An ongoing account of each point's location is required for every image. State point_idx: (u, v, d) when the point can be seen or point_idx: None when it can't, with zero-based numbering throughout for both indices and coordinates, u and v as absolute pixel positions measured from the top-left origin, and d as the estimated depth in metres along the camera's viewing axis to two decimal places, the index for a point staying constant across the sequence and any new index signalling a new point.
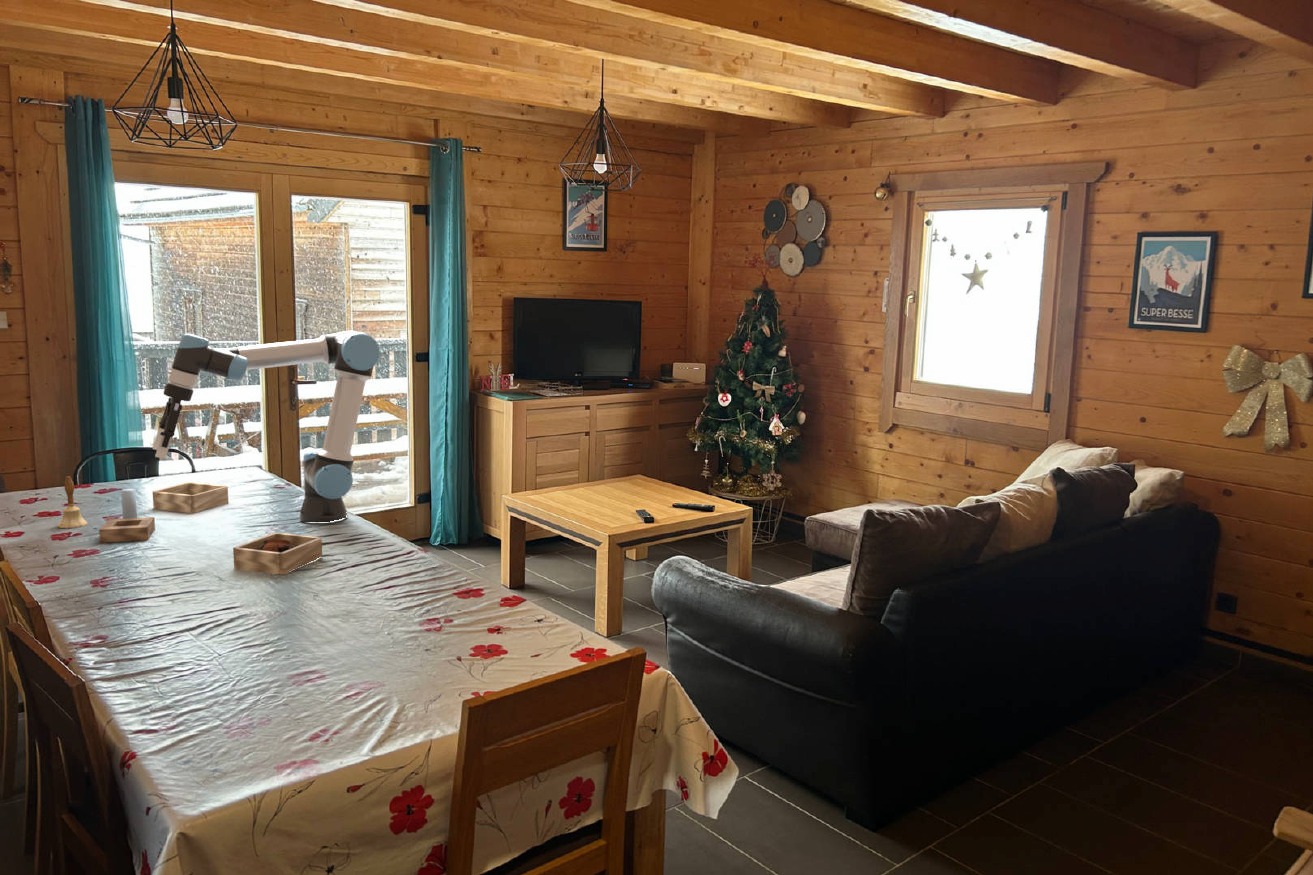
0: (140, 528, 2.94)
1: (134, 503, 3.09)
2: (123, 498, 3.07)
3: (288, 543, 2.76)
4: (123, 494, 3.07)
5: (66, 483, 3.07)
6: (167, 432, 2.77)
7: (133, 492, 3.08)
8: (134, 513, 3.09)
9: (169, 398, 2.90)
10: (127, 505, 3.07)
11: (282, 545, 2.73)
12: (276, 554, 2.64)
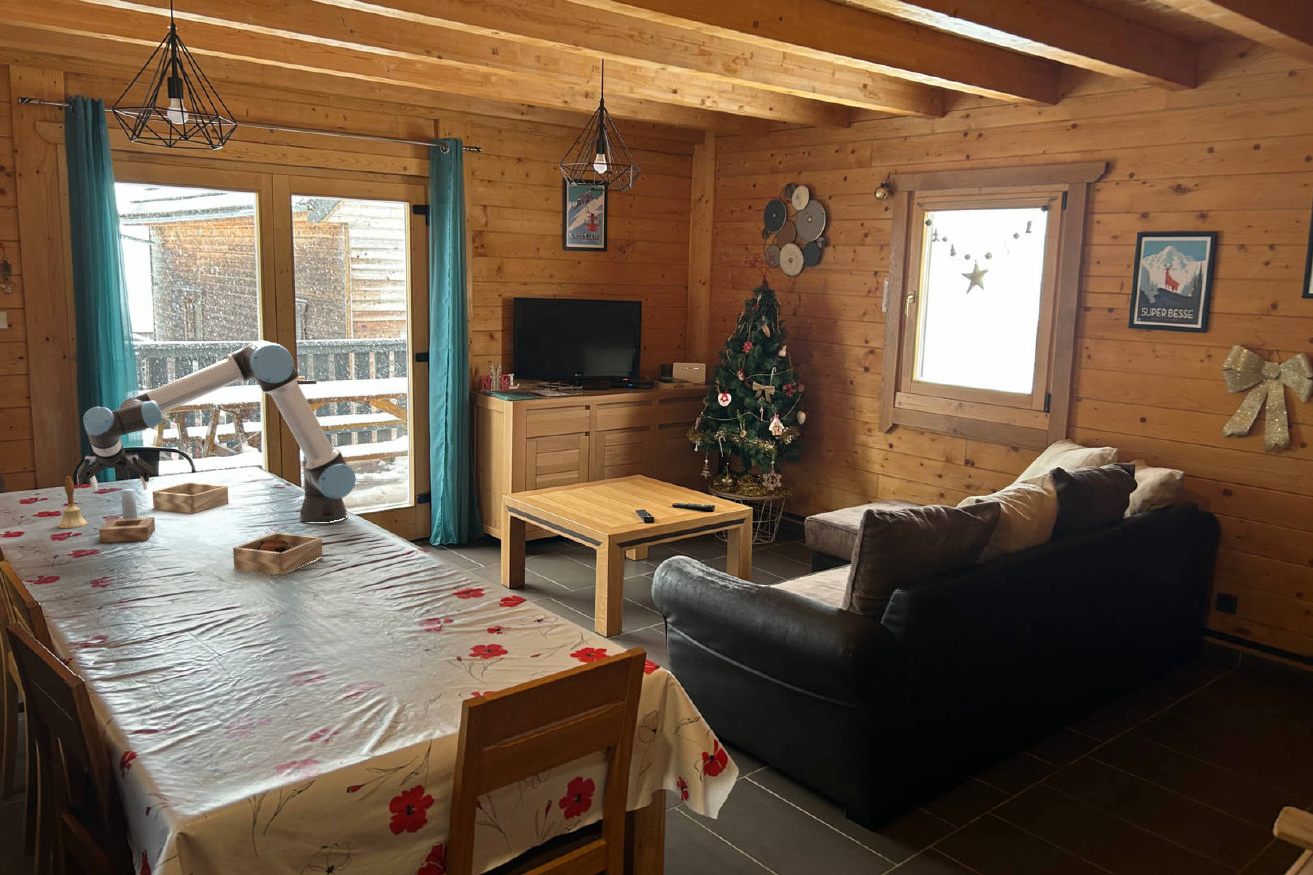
0: (140, 528, 2.94)
1: (134, 503, 3.09)
2: (123, 498, 3.07)
3: (285, 544, 2.75)
4: (123, 494, 3.07)
5: (66, 483, 3.07)
6: (153, 472, 2.95)
7: (133, 492, 3.08)
8: (134, 513, 3.09)
9: (88, 461, 2.83)
10: (127, 505, 3.07)
11: (279, 546, 2.73)
12: (276, 554, 2.64)
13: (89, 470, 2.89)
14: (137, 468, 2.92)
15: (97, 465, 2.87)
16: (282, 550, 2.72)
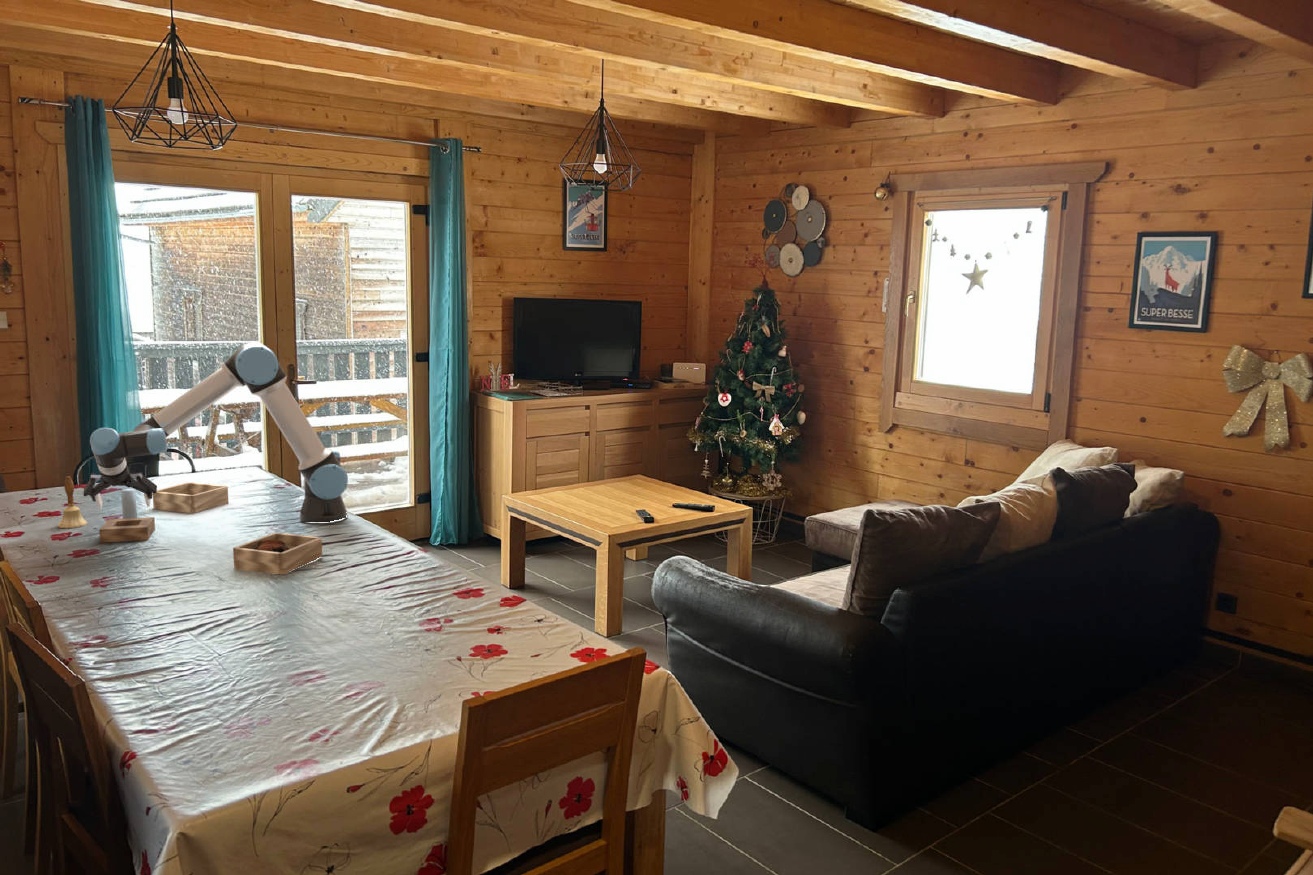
0: (140, 528, 2.94)
1: (134, 503, 3.09)
2: (123, 498, 3.07)
3: (283, 544, 2.75)
4: (123, 494, 3.07)
5: (66, 483, 3.07)
6: (156, 489, 3.04)
7: (133, 492, 3.08)
8: (134, 513, 3.09)
9: (94, 479, 2.92)
10: (127, 505, 3.07)
11: (277, 546, 2.72)
12: (276, 554, 2.64)
13: (94, 488, 2.98)
14: (141, 486, 3.01)
15: (102, 483, 2.96)
16: (280, 550, 2.72)
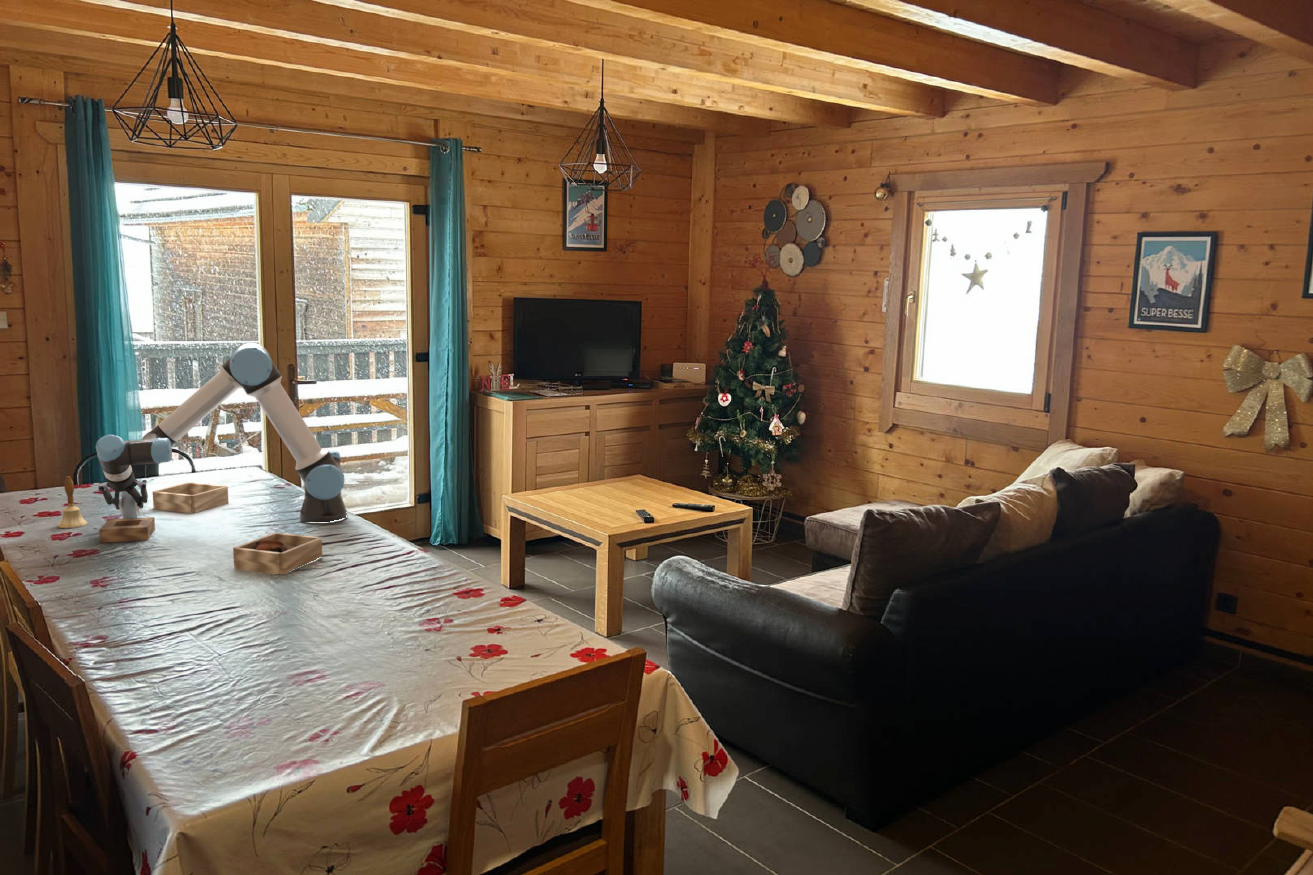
0: (140, 528, 2.94)
1: (134, 503, 3.09)
2: (123, 498, 3.07)
3: (281, 544, 2.75)
4: (123, 494, 3.07)
5: (66, 483, 3.07)
6: (146, 499, 3.08)
7: None
8: (134, 513, 3.09)
9: (101, 488, 2.98)
10: (127, 505, 3.07)
11: (275, 546, 2.72)
12: (276, 554, 2.64)
13: None
14: (137, 495, 3.06)
15: None
16: (278, 551, 2.71)
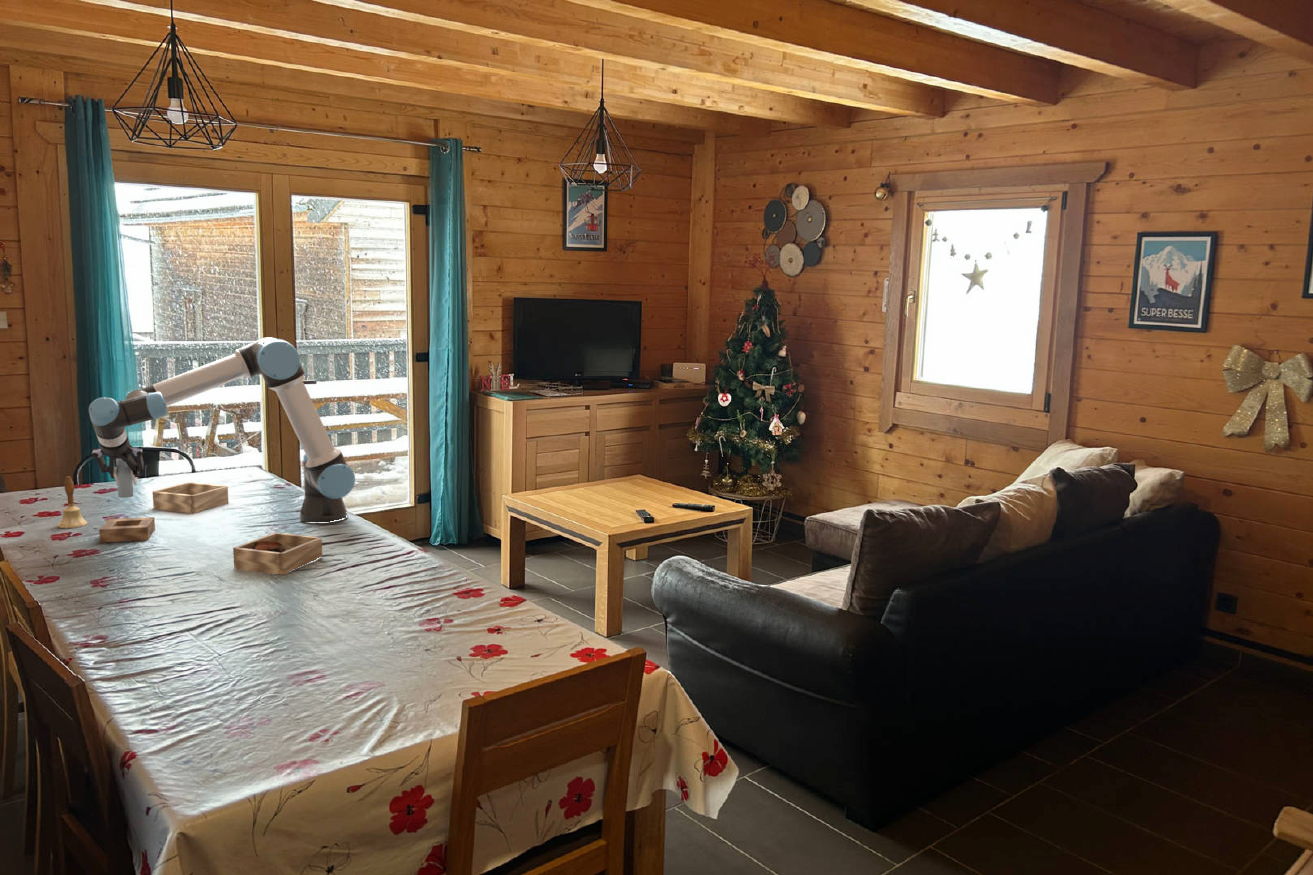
0: (140, 528, 2.94)
1: (130, 472, 2.96)
2: (118, 466, 2.94)
3: (279, 545, 2.74)
4: (118, 462, 2.94)
5: (66, 483, 3.07)
6: (143, 467, 2.96)
7: None
8: (130, 482, 2.96)
9: (95, 454, 2.85)
10: (122, 473, 2.95)
11: (273, 547, 2.71)
12: (276, 554, 2.64)
13: None
14: (133, 463, 2.93)
15: None
16: None
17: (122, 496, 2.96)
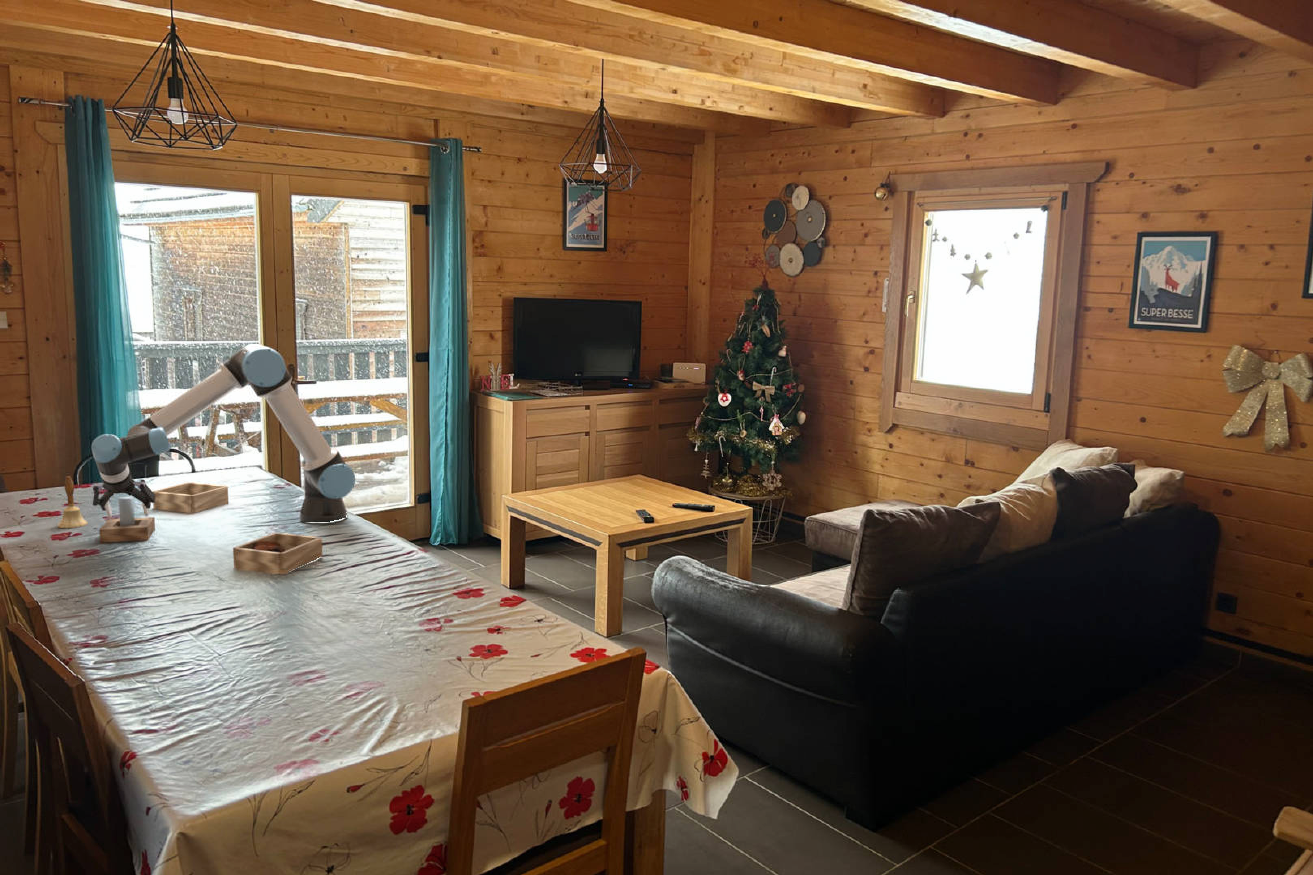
0: (140, 528, 2.94)
1: (132, 511, 2.98)
2: (121, 506, 2.96)
3: (278, 545, 2.74)
4: (121, 502, 2.96)
5: (66, 483, 3.07)
6: (154, 499, 2.97)
7: (131, 500, 2.97)
8: (132, 522, 2.98)
9: (96, 488, 2.86)
10: (124, 513, 2.96)
11: (272, 547, 2.71)
12: (276, 554, 2.64)
13: (102, 497, 2.93)
14: (141, 495, 2.95)
15: (107, 491, 2.90)
16: None
17: None
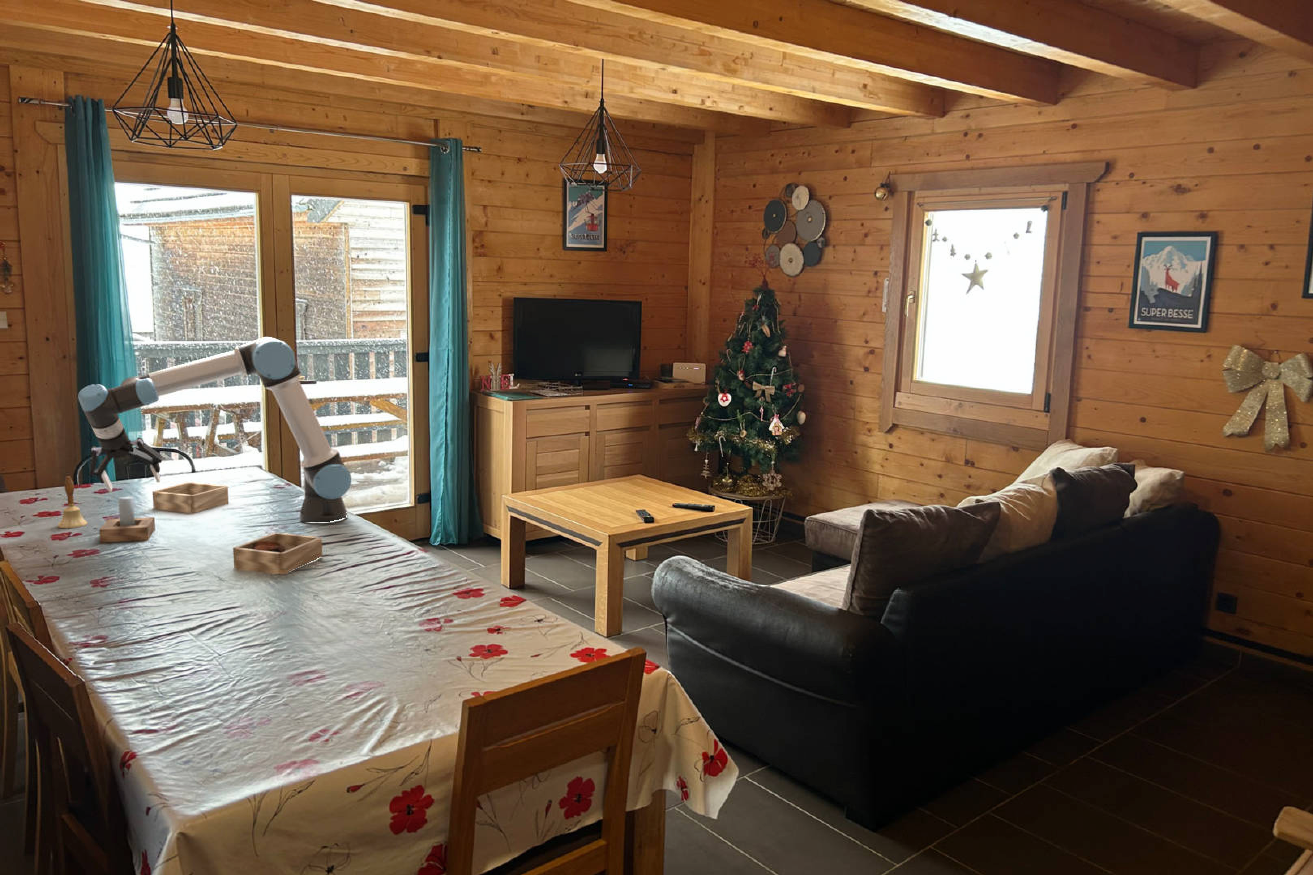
0: (140, 528, 2.94)
1: (132, 511, 2.98)
2: (120, 506, 2.96)
3: (278, 545, 2.74)
4: (120, 502, 2.96)
5: (66, 483, 3.07)
6: (161, 458, 2.94)
7: (131, 500, 2.97)
8: (132, 522, 2.98)
9: (94, 451, 2.85)
10: (124, 513, 2.96)
11: (273, 547, 2.71)
12: (276, 554, 2.64)
13: (99, 466, 2.90)
14: (145, 456, 2.92)
15: (105, 457, 2.88)
16: None
17: None
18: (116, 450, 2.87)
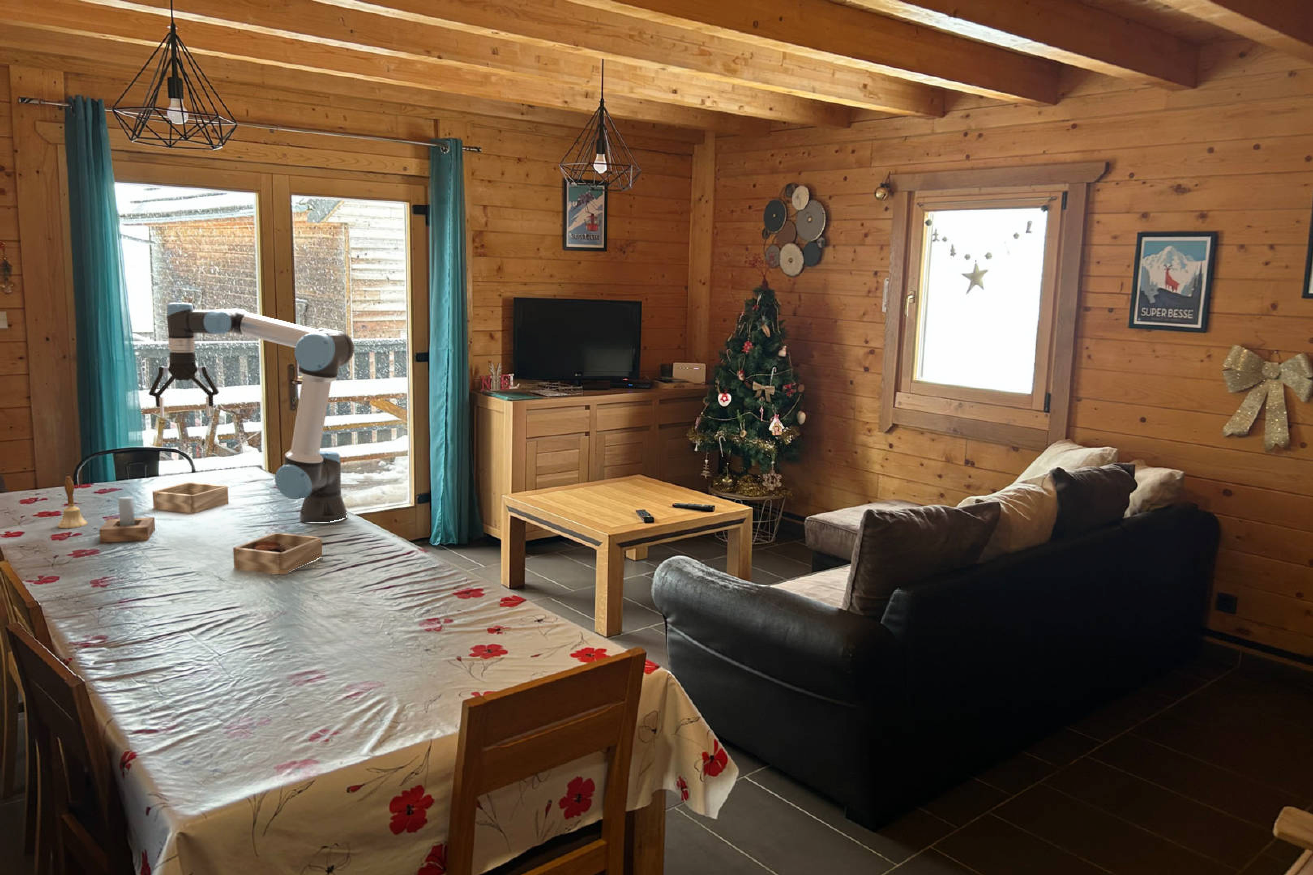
0: (140, 528, 2.94)
1: (132, 511, 2.98)
2: (120, 506, 2.96)
3: (278, 545, 2.74)
4: (120, 502, 2.96)
5: (66, 483, 3.07)
6: (218, 391, 3.15)
7: (131, 500, 2.97)
8: (132, 522, 2.98)
9: (162, 367, 3.08)
10: (124, 513, 2.96)
11: (273, 547, 2.71)
12: (276, 554, 2.64)
13: None
14: (204, 385, 3.14)
15: (169, 379, 3.10)
16: (276, 551, 2.70)
17: None
18: (181, 371, 3.10)
